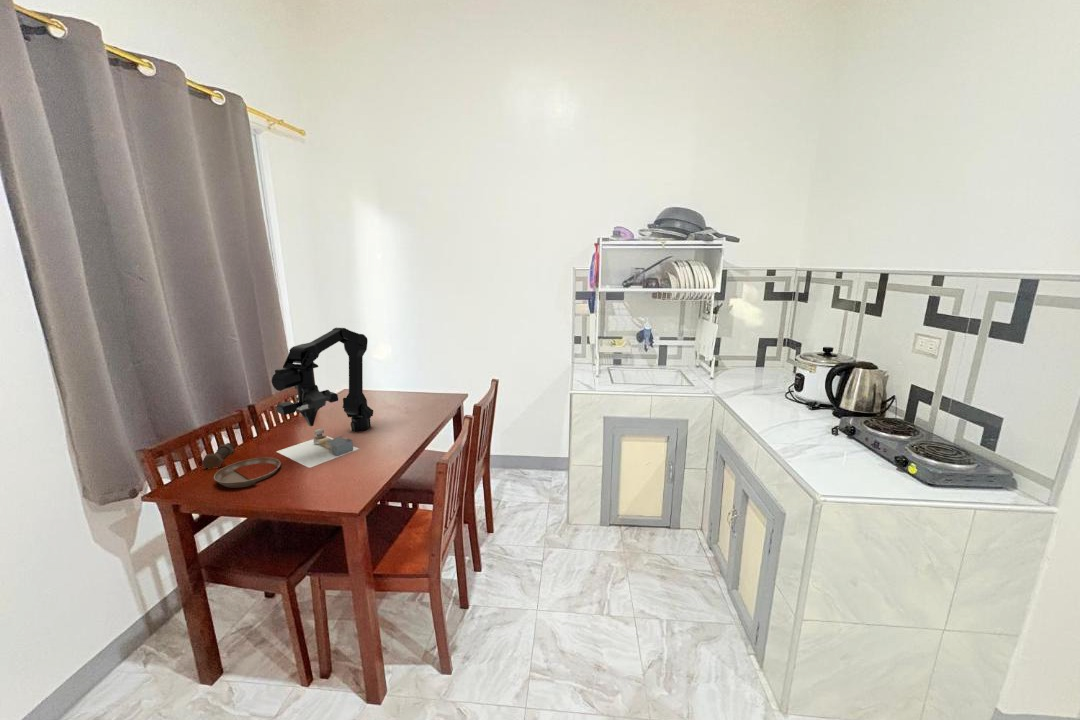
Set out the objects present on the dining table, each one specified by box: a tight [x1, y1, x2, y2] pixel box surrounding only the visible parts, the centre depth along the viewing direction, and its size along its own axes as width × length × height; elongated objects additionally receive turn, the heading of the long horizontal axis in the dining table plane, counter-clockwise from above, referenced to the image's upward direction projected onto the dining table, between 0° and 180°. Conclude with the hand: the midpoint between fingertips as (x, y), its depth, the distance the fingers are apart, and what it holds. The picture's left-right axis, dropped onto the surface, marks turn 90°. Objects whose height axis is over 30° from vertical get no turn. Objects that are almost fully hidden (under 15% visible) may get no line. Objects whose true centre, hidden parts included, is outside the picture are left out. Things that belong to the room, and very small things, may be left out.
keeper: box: [327, 436, 354, 457], centre depth 154 cm, size 6×7×4 cm
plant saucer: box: [213, 457, 281, 489], centre depth 139 cm, size 18×18×3 cm
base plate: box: [275, 434, 360, 469], centre depth 156 cm, size 18×23×1 cm
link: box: [312, 428, 332, 450], centre depth 159 cm, size 15×4×4 cm, turn 54°
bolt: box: [201, 442, 236, 469], centre depth 151 cm, size 6×5×15 cm
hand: (311, 426), depth 152 cm, fingers closed
